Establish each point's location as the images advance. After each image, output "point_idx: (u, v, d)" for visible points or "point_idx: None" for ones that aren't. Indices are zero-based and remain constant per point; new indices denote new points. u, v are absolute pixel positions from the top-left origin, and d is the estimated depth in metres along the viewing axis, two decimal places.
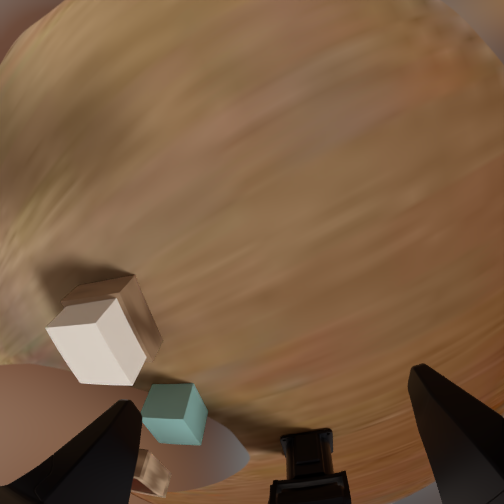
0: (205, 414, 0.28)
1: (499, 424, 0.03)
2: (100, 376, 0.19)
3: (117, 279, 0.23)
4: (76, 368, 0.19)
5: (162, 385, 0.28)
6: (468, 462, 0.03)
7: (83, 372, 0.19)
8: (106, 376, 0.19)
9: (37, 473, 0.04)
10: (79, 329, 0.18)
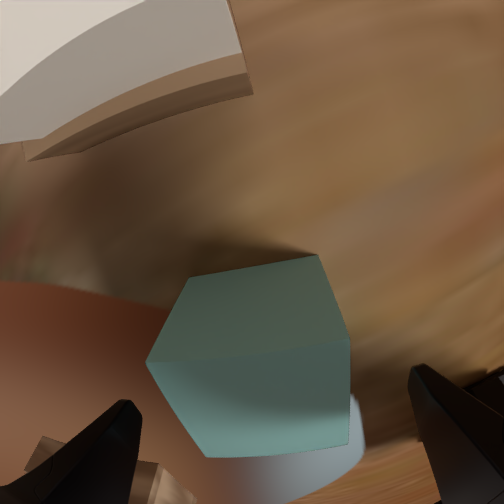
0: None
1: (499, 424, 0.03)
2: (31, 20, 0.02)
3: None
4: None
5: (221, 274, 0.11)
6: (468, 462, 0.03)
7: None
8: None
9: (37, 473, 0.04)
10: None
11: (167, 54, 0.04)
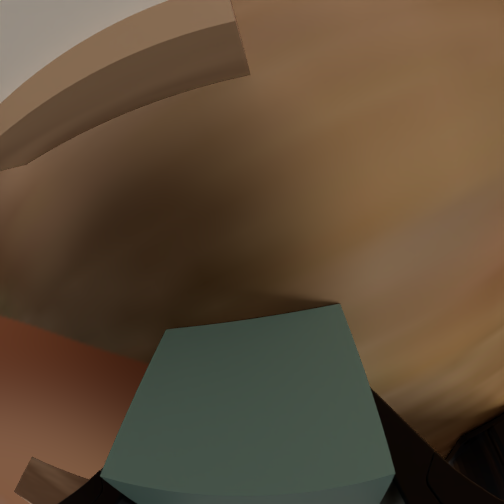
0: None
1: (427, 459, 0.04)
2: None
3: None
4: None
5: (207, 330, 0.08)
6: (389, 493, 0.04)
7: None
8: None
9: (84, 494, 0.04)
10: None
11: (45, 3, 0.01)
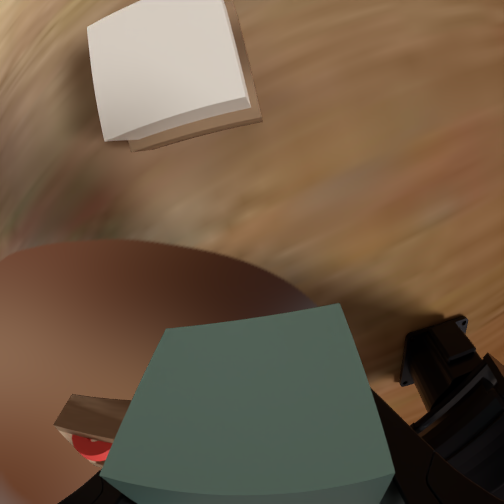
0: None
1: (427, 459, 0.04)
2: (167, 92, 0.09)
3: None
4: (114, 94, 0.09)
5: (207, 330, 0.08)
6: (389, 493, 0.04)
7: (127, 99, 0.10)
8: (186, 86, 0.09)
9: (84, 494, 0.04)
10: None
11: (219, 111, 0.12)
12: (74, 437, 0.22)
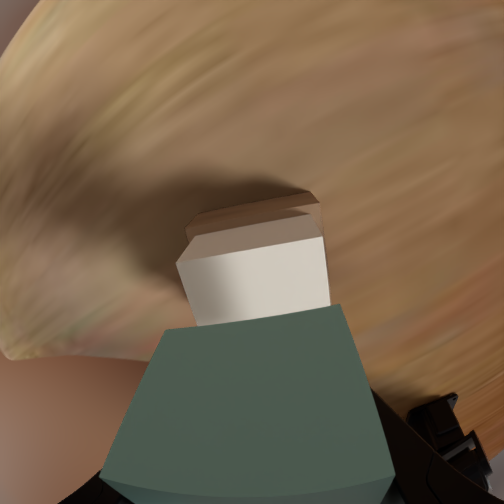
0: None
1: (427, 459, 0.04)
2: None
3: (282, 197, 0.17)
4: None
5: (206, 331, 0.08)
6: (389, 493, 0.04)
7: None
8: None
9: (84, 494, 0.04)
10: (275, 255, 0.11)
11: None
12: None
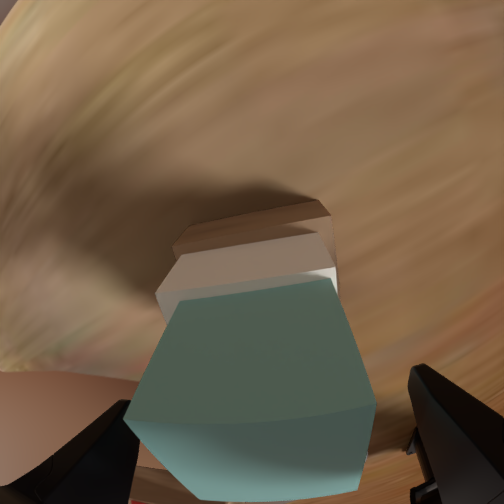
0: None
1: (499, 424, 0.03)
2: None
3: (286, 207, 0.15)
4: None
5: (216, 300, 0.09)
6: (468, 462, 0.03)
7: None
8: None
9: (37, 473, 0.04)
10: None
11: None
12: (133, 503, 0.23)
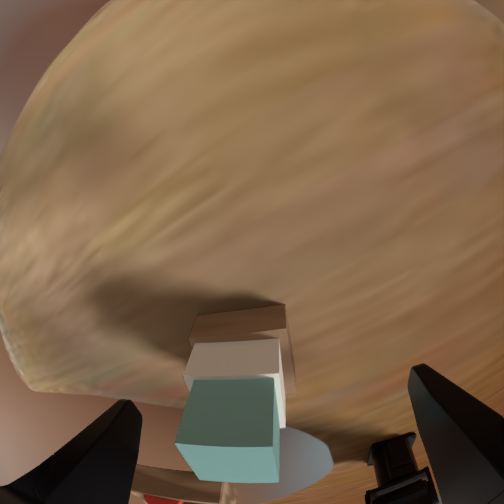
0: (279, 430, 0.17)
1: (499, 424, 0.03)
2: None
3: (262, 309, 0.22)
4: None
5: (214, 383, 0.16)
6: (468, 462, 0.03)
7: None
8: None
9: (37, 473, 0.04)
10: None
11: None
12: (145, 497, 0.30)
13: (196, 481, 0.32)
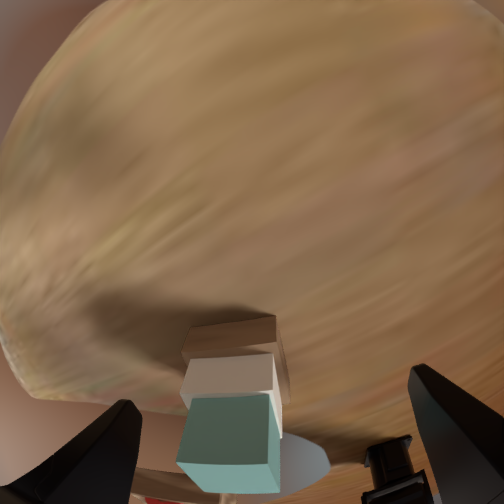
0: (279, 441, 0.17)
1: (499, 424, 0.03)
2: None
3: (253, 322, 0.22)
4: None
5: (211, 401, 0.16)
6: (468, 462, 0.03)
7: None
8: None
9: (37, 473, 0.04)
10: (242, 396, 0.16)
11: None
12: (147, 499, 0.30)
13: (196, 484, 0.32)
